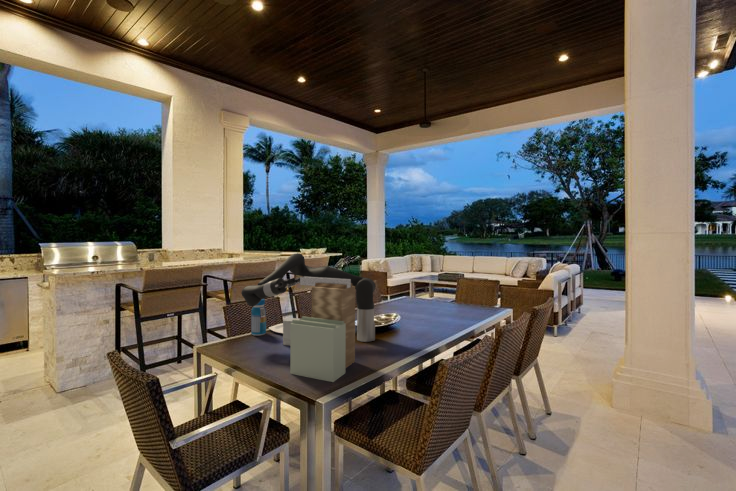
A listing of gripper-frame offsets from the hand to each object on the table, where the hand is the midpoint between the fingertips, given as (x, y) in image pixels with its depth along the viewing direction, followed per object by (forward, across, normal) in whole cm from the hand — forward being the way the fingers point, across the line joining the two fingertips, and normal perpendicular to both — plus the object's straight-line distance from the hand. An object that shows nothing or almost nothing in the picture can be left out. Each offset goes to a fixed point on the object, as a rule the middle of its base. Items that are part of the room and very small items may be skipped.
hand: (300, 278), depth 169 cm
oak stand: (+9, -5, +41) cm, 42 cm away
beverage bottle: (-51, +17, +21) cm, 58 cm away
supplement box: (-24, +11, +30) cm, 40 cm away
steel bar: (+15, -5, +7) cm, 18 cm away
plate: (-39, +34, +25) cm, 58 cm away
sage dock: (+9, -18, +41) cm, 45 cm away
